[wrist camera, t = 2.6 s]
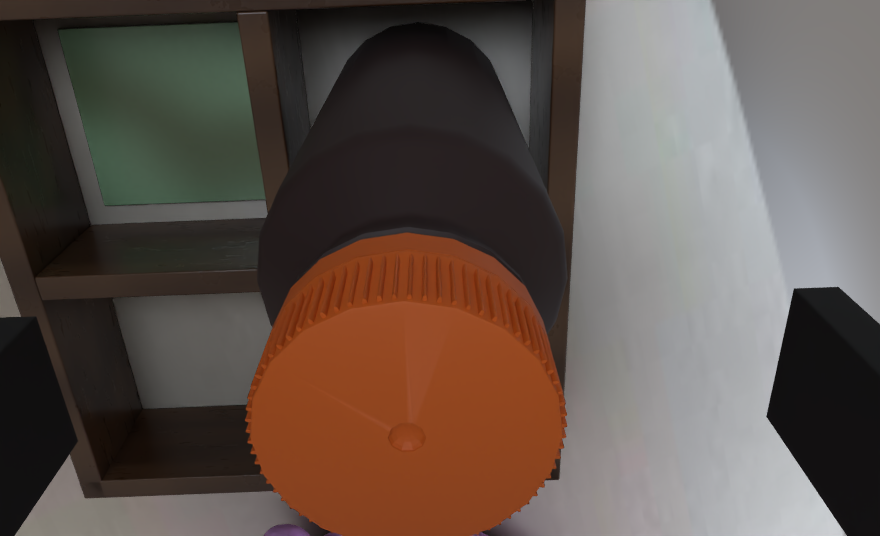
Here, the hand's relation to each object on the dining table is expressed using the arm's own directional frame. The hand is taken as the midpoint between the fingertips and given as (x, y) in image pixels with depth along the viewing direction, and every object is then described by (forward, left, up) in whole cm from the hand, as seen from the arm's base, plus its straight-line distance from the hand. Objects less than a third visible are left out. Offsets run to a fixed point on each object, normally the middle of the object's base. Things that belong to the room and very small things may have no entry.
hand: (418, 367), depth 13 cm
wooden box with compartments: (+5, -5, -18) cm, 19 cm away
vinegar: (0, 0, -18) cm, 18 cm away
